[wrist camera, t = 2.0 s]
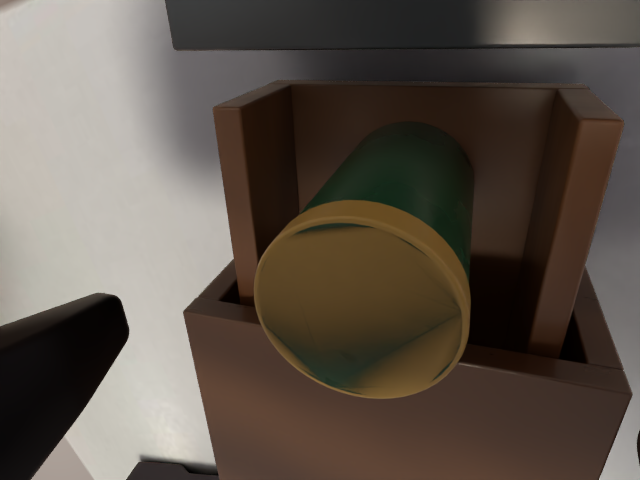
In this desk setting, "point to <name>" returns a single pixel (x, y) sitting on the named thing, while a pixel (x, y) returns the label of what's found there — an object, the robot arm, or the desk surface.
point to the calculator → (165, 472)
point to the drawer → (439, 111)
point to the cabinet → (407, 406)
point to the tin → (376, 268)
